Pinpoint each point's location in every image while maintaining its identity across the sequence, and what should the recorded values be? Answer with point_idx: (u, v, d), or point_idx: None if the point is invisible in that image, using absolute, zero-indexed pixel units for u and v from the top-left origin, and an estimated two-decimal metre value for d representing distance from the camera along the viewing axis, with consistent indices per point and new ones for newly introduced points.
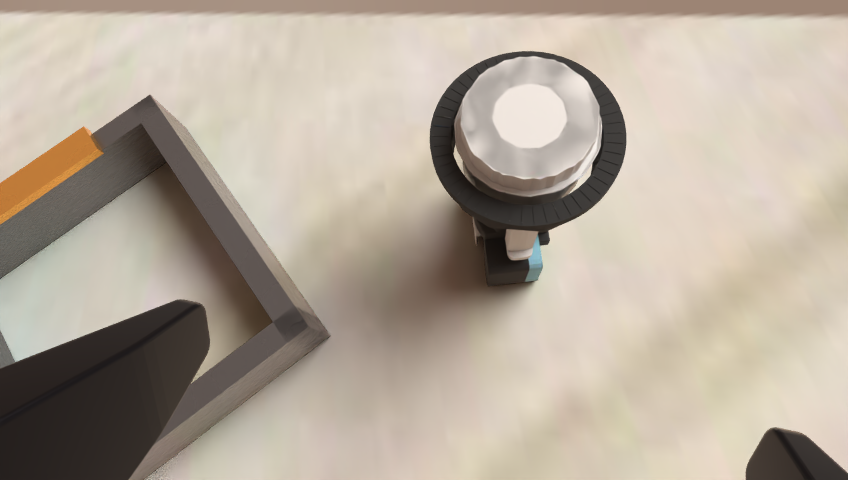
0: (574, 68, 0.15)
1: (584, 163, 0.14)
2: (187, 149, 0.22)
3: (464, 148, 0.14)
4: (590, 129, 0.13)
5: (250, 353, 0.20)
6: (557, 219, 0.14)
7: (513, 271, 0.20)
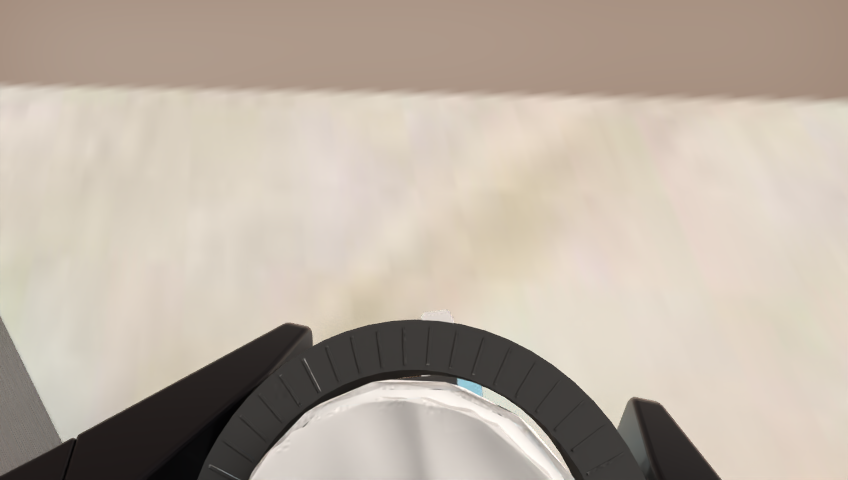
0: (538, 377, 0.06)
1: None
2: None
3: None
4: None
5: None
6: None
7: None
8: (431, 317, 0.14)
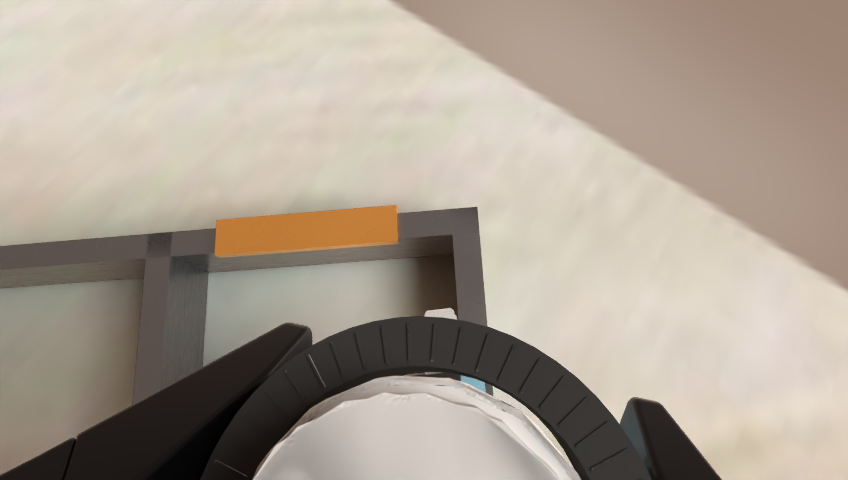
0: (542, 373, 0.06)
1: None
2: (484, 299, 0.19)
3: None
4: None
5: None
6: None
7: None
8: (434, 315, 0.14)
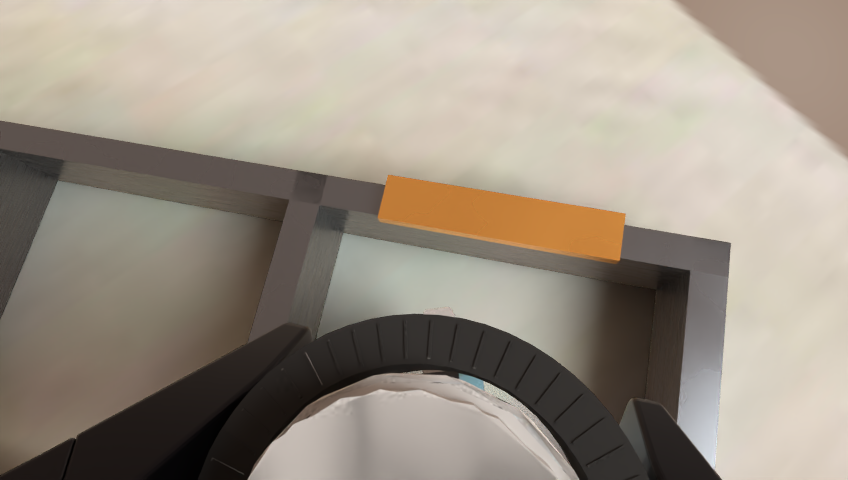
0: (539, 371, 0.06)
1: None
2: (721, 367, 0.14)
3: None
4: None
5: None
6: None
7: None
8: (433, 314, 0.14)
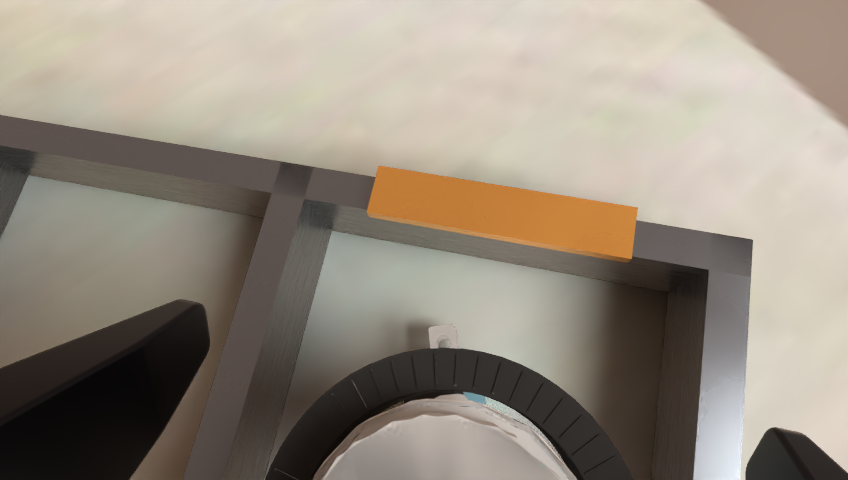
0: (546, 396, 0.07)
1: None
2: (744, 376, 0.13)
3: None
4: None
5: None
6: None
7: None
8: (437, 331, 0.15)
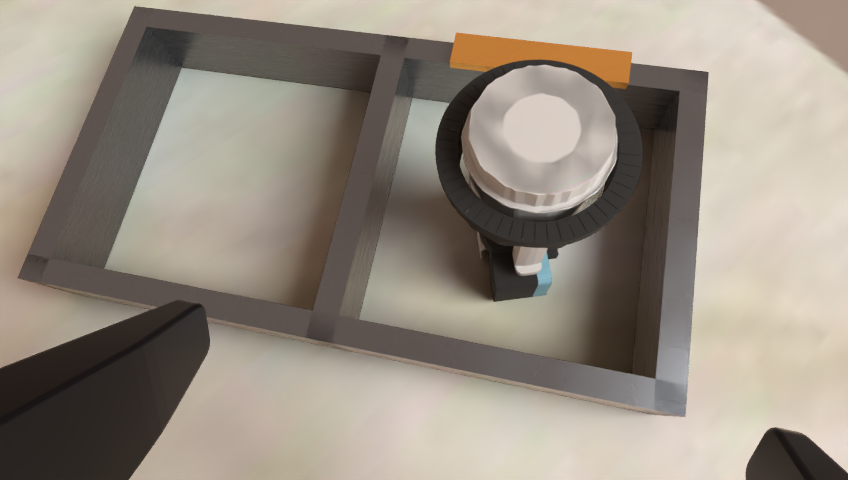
0: (585, 76, 0.14)
1: (600, 176, 0.13)
2: (702, 152, 0.20)
3: (472, 162, 0.14)
4: (606, 141, 0.13)
5: (613, 384, 0.18)
6: (572, 236, 0.13)
7: (521, 287, 0.19)
8: None
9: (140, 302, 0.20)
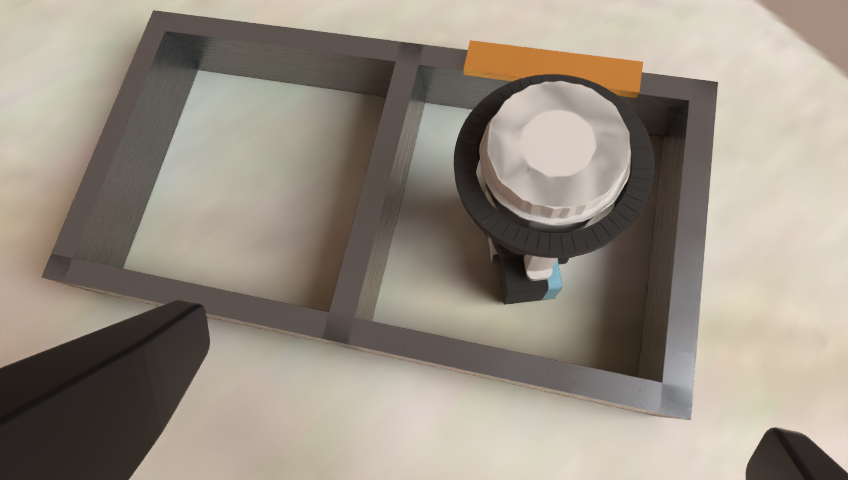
0: (600, 91, 0.15)
1: (613, 190, 0.14)
2: (711, 161, 0.20)
3: (490, 175, 0.14)
4: (620, 157, 0.13)
5: (621, 388, 0.18)
6: (586, 247, 0.14)
7: (531, 291, 0.20)
8: None
9: (161, 302, 0.21)
